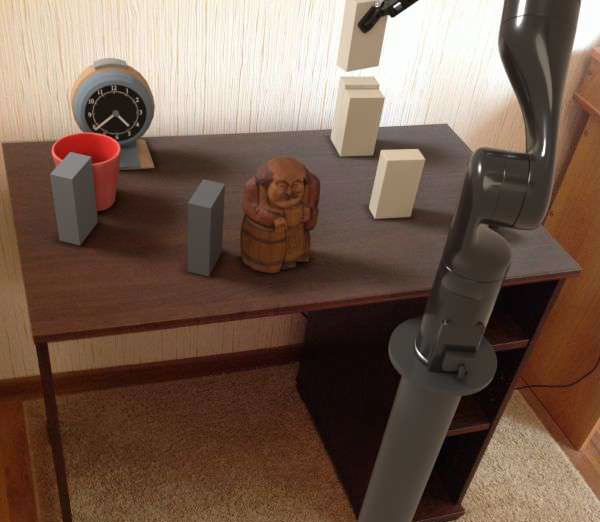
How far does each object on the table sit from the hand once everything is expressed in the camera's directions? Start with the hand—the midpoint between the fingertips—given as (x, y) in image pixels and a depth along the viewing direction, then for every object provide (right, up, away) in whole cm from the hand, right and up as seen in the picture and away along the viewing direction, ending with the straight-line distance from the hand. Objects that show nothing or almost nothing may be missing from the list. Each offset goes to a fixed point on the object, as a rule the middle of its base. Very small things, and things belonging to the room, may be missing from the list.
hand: (354, 24), depth 124 cm
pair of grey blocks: (-35, -37, -2) cm, 51 cm away
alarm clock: (-43, -17, +16) cm, 49 cm away
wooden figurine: (-13, -39, 0) cm, 41 cm away
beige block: (+1, -4, +6) cm, 7 cm away
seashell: (+23, -32, +12) cm, 41 cm away
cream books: (+4, -18, +21) cm, 29 cm away
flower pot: (-45, -28, +5) cm, 53 cm away
